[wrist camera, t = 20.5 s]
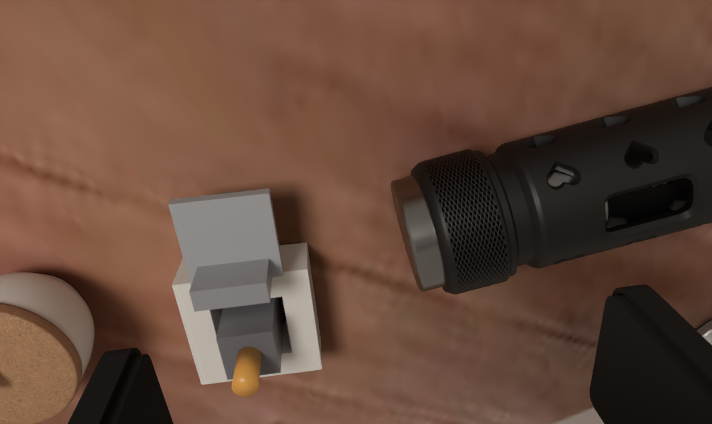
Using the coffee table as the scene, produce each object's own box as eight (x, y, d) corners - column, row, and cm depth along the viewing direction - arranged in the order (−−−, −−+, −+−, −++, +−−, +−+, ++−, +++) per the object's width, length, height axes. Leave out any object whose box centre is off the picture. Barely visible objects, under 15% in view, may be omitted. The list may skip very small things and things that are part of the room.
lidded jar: (15, 366, 44) (-51, 461, 36) (-56, 266, 39) (-152, 349, 31) (134, 338, 44) (95, 427, 36) (77, 234, 39) (17, 309, 31)
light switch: (320, 337, 46) (322, 369, 42) (209, 351, 45) (201, 384, 42) (306, 242, 41) (307, 269, 38) (183, 256, 41) (172, 285, 37)
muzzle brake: (731, 163, 42) (851, 221, 33) (404, 251, 43) (432, 331, 34) (743, 48, 38) (885, 78, 29) (379, 148, 39) (403, 208, 29)
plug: (283, 314, 44) (279, 403, 36) (237, 320, 44) (222, 411, 35) (276, 276, 43) (269, 360, 34) (228, 282, 42) (209, 369, 34)
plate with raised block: (283, 269, 37) (281, 301, 34) (193, 280, 37) (182, 313, 34) (269, 188, 34) (266, 213, 31) (171, 199, 34) (156, 226, 31)
